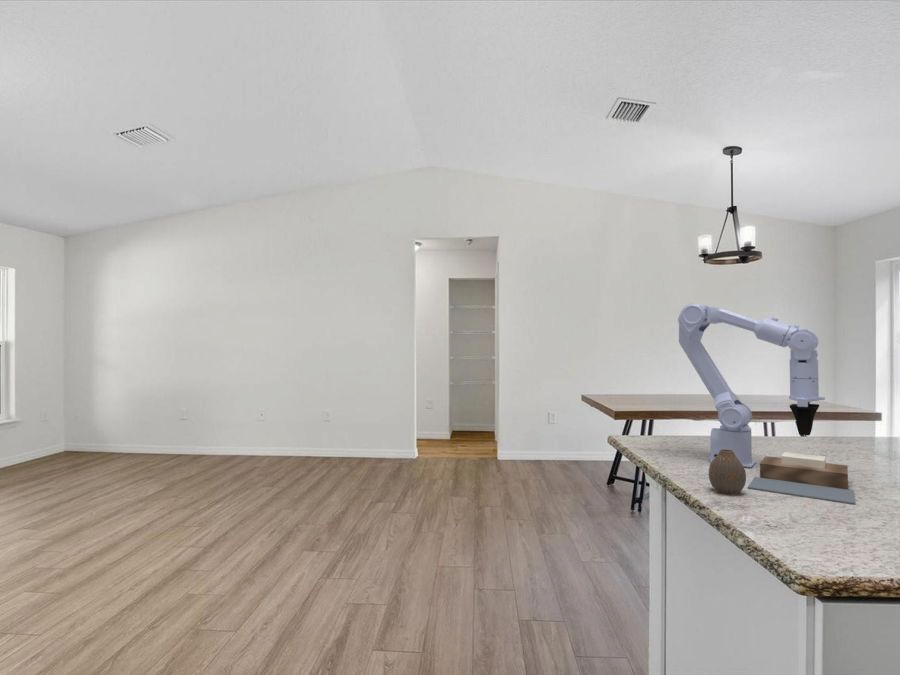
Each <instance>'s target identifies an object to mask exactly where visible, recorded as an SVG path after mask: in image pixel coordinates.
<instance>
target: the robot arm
mask: <svg viewBox="0 0 900 675" xmlns="http://www.w3.org/2000/svg"><path fill="white" fill-rule="evenodd" d="M677 322H678V343H679V345H680V347H681V348H682V350H683V351H684V353H685V355H686V357H687V358H688V360H689V361H690V364H692V366H693V368H694V370H695V371H696V373H697V374H698V376H699V379H701V381H702V382H703V384H704V386H705V387H706V389H707V391H708V392H709V394H710V396H711V398H712V399H713V403H714V408H715V409H716V411H717V417H718V421H719V423H720V425H719V428H716V427H713V428H711V431H710V437H709V440H710V441H709V442H710V443H709V445H710V449H709V450H710V461H709V463H711V462H712V460H713V459H714V458H715V457H716V456H717V455H718V453H719V452H720V450H721V449H728V450H732V451H733V452H734V454H735V456H736V457H737V458H738V459H739V461H740V462H741V463H742V465H743V467H744V468H752V467H753V466H754V465H755V464H756V460H755V459H754V460H753V454H752V453H753V450H752V449H753V446H752V441H753V440H752V438H753V437H752V428H751V427H750V425H749V423H750V422H751V421H752V419H753V412H752V410H751V408H750V407H749V406H748V405H746V404H744V403H743V402H742V401H741V400H740V398H739V396H737V395H736V393H734V392H733V391H732V389H731V387H730V386H729V384H728V383H727V381H726V379H725V378H724V376H723V375H722V373H721V372H720V370H719V368H718V367H717V365H716V363H715V362H714V361H713V359H712V357H711V356H710V354H709V353H708V351H707V349H706V348H705V346H704V344H703V343H702V338H703V334H704V333H705V331H706V329H708V327H709V326H710V325H711V324H713V325H716V324H721V323H723V324H728V325H730V326H733V327H736V328H740V329H743V330H746V331H749V332H753V333H754V335H755V337H756V339H758V340H761V341H764V342H767V343H770V344H772V345H775V346H778V347H781V348H786V347H788V348H789V350H790V359H789V396H788V398H789V399H790V400H791V401H796V402H797V403H791V404H789V408H790V410H791V412H792V414H793V416H794V419H795V423H796V428H797V432H798V435H801V436H810V435H811V433H812V430H813V425H814V419H815V415H816V413H817V412H818V410H819V407H820V404H819V403H811V402H818V401H825V400H826V397H825V396H820V395H819V393H820V390H819V389H820V388H819V360H818V351H817V349H816V348H818V345H819V337H818V336H817V335H816V333H814V332H813V331H811V330H808V329H803V328H802V329H800V325H797V324H794V325H791V324H788V323H786V322H785V323H784V322H781V321H779V318H776V317H771V318H769V317H765V318H763V319H759V320H758V319H757V320H756V319H754V318H751V317H748V316H745V315H744V314H743V315H742V314H740V313H737V312H733V311H730V310H728V309H725V308H722V307H721V308H720V307H716V306H710V305H701V304H699V303H689V304H688V303H687V304H686V305H685V306H684V307H683V308H682V309H681V311H680V314H679V315H678V318H677Z"/></svg>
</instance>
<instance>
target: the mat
mask: <svg viewBox="0 0 900 675" xmlns="http://www.w3.org/2000/svg"><path fill="white" fill-rule="evenodd" d="M747 489H749V490H755V491H762V492H771V493H774V494H780V495H781V494H783V495H788V496H795V497H802V498H807V499H813V500H815V499H816V500H822V501H827V502H828V501H829V502H833V503H834V502H835V503H840V504H841V503H842V504H847V505H853V506H854V505H855V506H856V497H855V494H856V493H855V490H853V489H848V490H847V489H839V488H832V487H825V486H817V485H810V484H803V483H796V482H788V481H781V480H774V479H766V478H760V476H759V477H757V476H754V477H753V479H752V480H751V482H750V483H749V484H748V486H747Z"/></svg>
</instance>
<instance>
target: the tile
mask: <svg viewBox="0 0 900 675" xmlns="http://www.w3.org/2000/svg"><path fill="white" fill-rule="evenodd" d="M780 458H781V464H786V465H795V466H803V467H811V468H820V469H825V463H826V456H825V455H824V456H823V455H815V454H805V453H798V452H797V453H796V452H788V451H784V452H783V453H782V454H781V456H780Z"/></svg>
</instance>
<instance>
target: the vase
mask: <svg viewBox="0 0 900 675" xmlns="http://www.w3.org/2000/svg"><path fill="white" fill-rule="evenodd" d="M708 479H709V481H710V485H711V486H712V488H713V489H714V490H715V491H716V492H718V493H720V494H724V495H738V494H740V493H741V492H742V491H743V489H744V488H745V485H746V481H747V474H746V469H745V467H743V465H742V463H741V462H740V461H739V459H738V458H737V457H736V456H735V454H734V452H733V451H732V450H728V449H721V450H720V452H719V453H718V455H717V456H716V457H715V458H714V459H713V460H712V462H710V464H709V468H708Z"/></svg>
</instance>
